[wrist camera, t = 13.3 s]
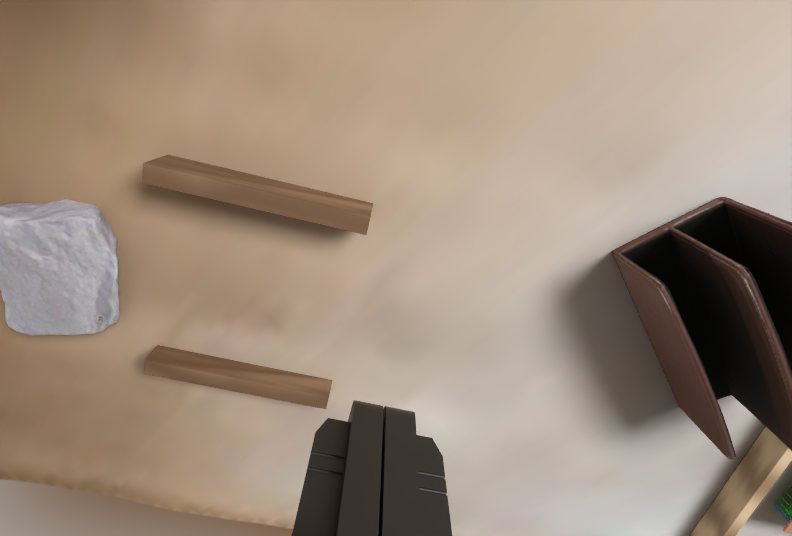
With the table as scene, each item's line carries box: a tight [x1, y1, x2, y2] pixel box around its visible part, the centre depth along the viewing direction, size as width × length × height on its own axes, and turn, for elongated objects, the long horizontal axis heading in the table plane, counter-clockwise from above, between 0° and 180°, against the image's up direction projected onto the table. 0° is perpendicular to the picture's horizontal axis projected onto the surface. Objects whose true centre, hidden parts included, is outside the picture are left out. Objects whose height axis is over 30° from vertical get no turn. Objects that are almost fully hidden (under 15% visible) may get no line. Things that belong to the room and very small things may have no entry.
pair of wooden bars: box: [142, 155, 373, 409], centre depth 40 cm, size 20×17×4 cm
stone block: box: [0, 199, 120, 336], centre depth 40 cm, size 12×5×10 cm
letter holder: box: [612, 197, 792, 459], centre depth 36 cm, size 10×20×14 cm, turn 31°
